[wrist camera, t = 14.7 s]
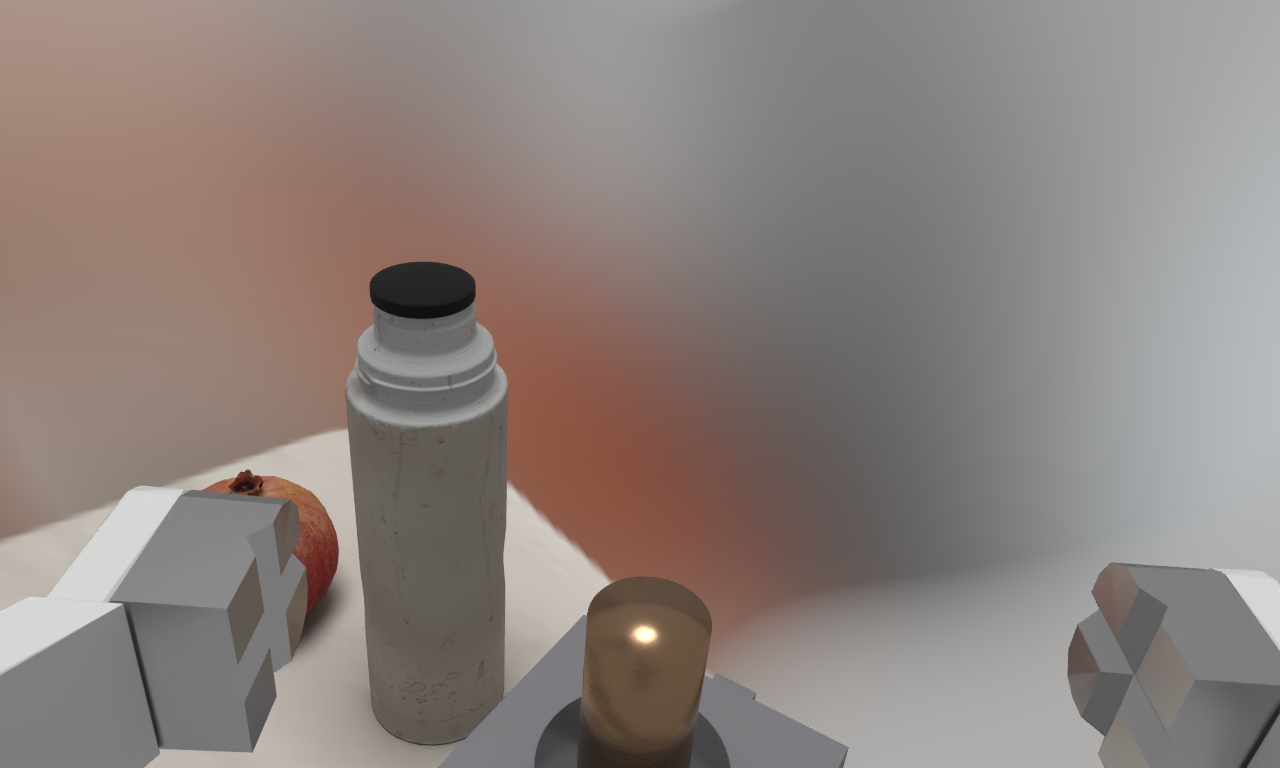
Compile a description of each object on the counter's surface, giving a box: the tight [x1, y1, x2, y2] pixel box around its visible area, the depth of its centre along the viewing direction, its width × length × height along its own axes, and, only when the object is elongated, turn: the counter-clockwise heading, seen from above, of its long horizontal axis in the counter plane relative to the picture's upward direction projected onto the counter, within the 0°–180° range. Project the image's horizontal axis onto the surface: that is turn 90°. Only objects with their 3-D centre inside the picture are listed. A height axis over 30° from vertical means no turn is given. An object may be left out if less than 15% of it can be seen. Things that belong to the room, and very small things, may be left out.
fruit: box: [202, 470, 339, 614], centre depth 64 cm, size 11×10×10 cm
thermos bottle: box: [345, 262, 508, 745], centre depth 54 cm, size 8×8×28 cm
